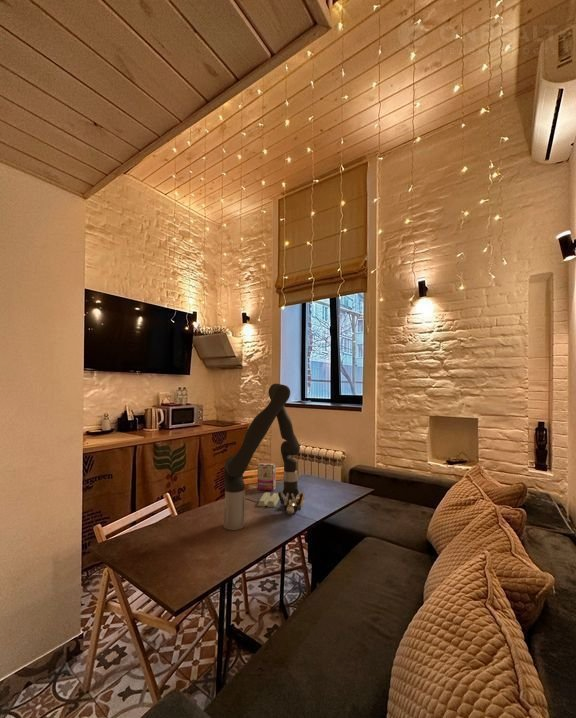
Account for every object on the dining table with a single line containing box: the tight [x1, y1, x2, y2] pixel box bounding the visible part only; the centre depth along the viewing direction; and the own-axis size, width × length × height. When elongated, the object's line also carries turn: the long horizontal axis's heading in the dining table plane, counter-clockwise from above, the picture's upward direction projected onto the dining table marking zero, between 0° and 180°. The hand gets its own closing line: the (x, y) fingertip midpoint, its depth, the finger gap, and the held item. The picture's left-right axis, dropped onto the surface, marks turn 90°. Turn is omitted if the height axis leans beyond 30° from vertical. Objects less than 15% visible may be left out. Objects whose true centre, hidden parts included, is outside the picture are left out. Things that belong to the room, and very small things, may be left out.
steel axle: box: [285, 500, 295, 516], centre depth 179 cm, size 14×4×4 cm, turn 169°
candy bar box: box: [257, 462, 277, 492], centre depth 214 cm, size 11×5×16 cm, turn 73°
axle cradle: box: [257, 492, 280, 508], centre depth 190 cm, size 10×14×3 cm
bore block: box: [283, 492, 305, 510], centre depth 188 cm, size 9×16×6 cm, turn 170°
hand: (290, 512), depth 174 cm, fingers closed on steel axle, 4 cm apart
